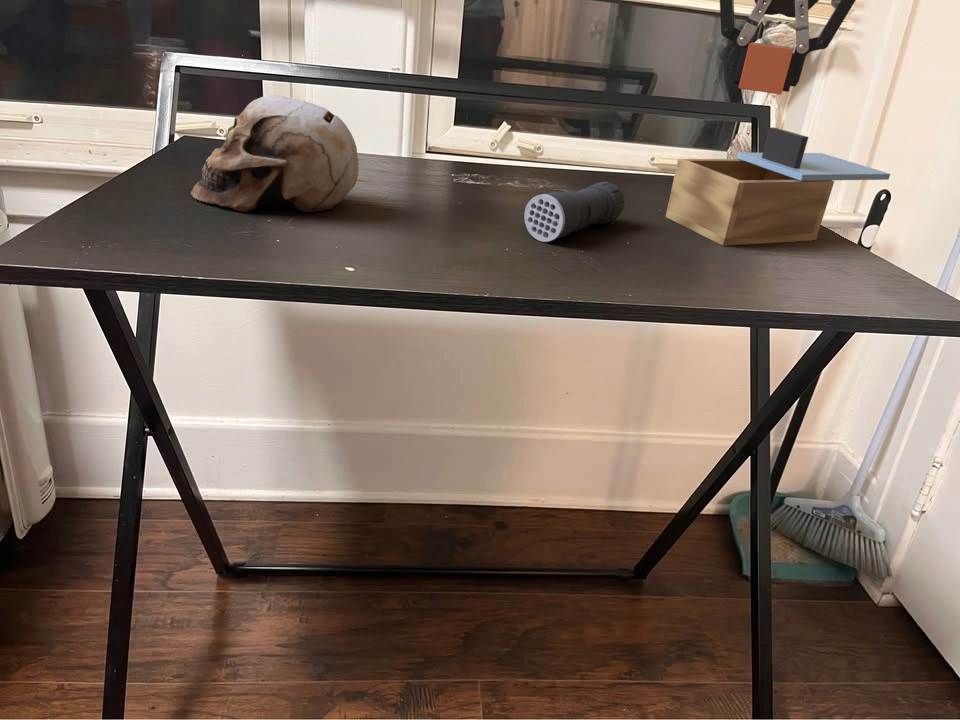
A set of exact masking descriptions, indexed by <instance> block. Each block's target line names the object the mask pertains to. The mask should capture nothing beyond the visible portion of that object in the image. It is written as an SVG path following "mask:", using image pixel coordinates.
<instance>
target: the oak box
mask: <svg viewBox="0 0 960 720" xmlns="http://www.w3.org/2000/svg"><path fill="white" fill-rule="evenodd" d="M834 184H835V180H822V181H800V180H797V179H794V178H792V177H789V176H786V175H783V174H780V173H777V172H774V171H772V170H769V169H766V168H763V167H760V166H757V165H754V164H752V163H749V162H746V161H743V160H740V159H737V158H678V159H677V162H676V167H675V172H674V175H673V180H672V185H671V190H670V194H669V200H668V204H667V208H666V212H665V213H666V214H665V218H667V219H668V220H671V221H673V222H674V223H676V224H679V225H681V226H682V227H684V228H687V229H688V230H690V231H692V232H695V233H697V234H699V235H701V236H702V237H705V238H707V239H709V240H710V241H712V242H714V243H716V244H718V245H720V246H722V247H725V246H727V247H728V246H742V245H760V244H775V243H776V244H777V243H794V242H797V241H798V242H814V241H813V240H815V241H817V238H818V234H819V231H820V228H821V225H822V222H823V219H824V216H825V212H826V210H827V206H828V204H829V199H830V197H831V194H832V190H833V187H834Z"/></svg>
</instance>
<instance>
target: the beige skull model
mask: <svg viewBox="0 0 960 720" xmlns="http://www.w3.org/2000/svg"><path fill="white" fill-rule="evenodd" d="M359 165H360V164H359V155H358V147H357V144H356V141H355V138H354V136H353V135H352V133H351V131H350V129H349V128H348V126H347V125H346V124H345V122H344V121H343V120H342V119H341V118H340V117H339V116H338V115H335V114H333V113H332V112H331V111H330V110H328V109H327V108H325V107H323V106H321V105H318V104H315V103H312V102H309V101H306V100H300V99H297V98H293V97H287V96H284V95H277V94H270V95H269V94H268V95H264V96H261V97H259V98H255V99H254V100H252V101H251V102H249V103H248V104H247V105H246V107H245V108H244V109H243V110H242V112H240V114H239V115H238V116H235V117H234V122H233V125H232V126H229V127H228V129H227V133H226V137H225V139H224V143H223V144H222V146H221V147H219V148H214V150H213V151H211V154H210V155H209V156H208V157H207V158H206V160H205V163H204V165H203V166H202V170H201V175H202V177H201V179H200V180H199V181H198V182H197V183H195V185H194V186H193V188H192V190H191V191H190V195H191V196H192V198H193V199H194V198H195V199H194V200H196V199H197V200H196V201H198V200H199V201H198V202H201V201H202V202H201V203H204V202H205V204H208V203H209V205H216V206H219V207H221V208H229V209H233V210H234V211H237V212H241V213H243V212H251V211H254V210H256V209H257V208H258V207H262V206H264V205H267V206H270V207H274V208H291V209H293V210H299V211H301V212H305V213H315V212H320V211H326V210H332V209H333V207H335V206H336V205H338V204H339V203H341V202H342V201H343V200H344V199H345V198H346V197H347V195H348V194H349V193H350V192H351V190H352V189H353V188H354V187H355V186H356V183H357V181H358V177H359V169H360V167H359Z"/></svg>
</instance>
